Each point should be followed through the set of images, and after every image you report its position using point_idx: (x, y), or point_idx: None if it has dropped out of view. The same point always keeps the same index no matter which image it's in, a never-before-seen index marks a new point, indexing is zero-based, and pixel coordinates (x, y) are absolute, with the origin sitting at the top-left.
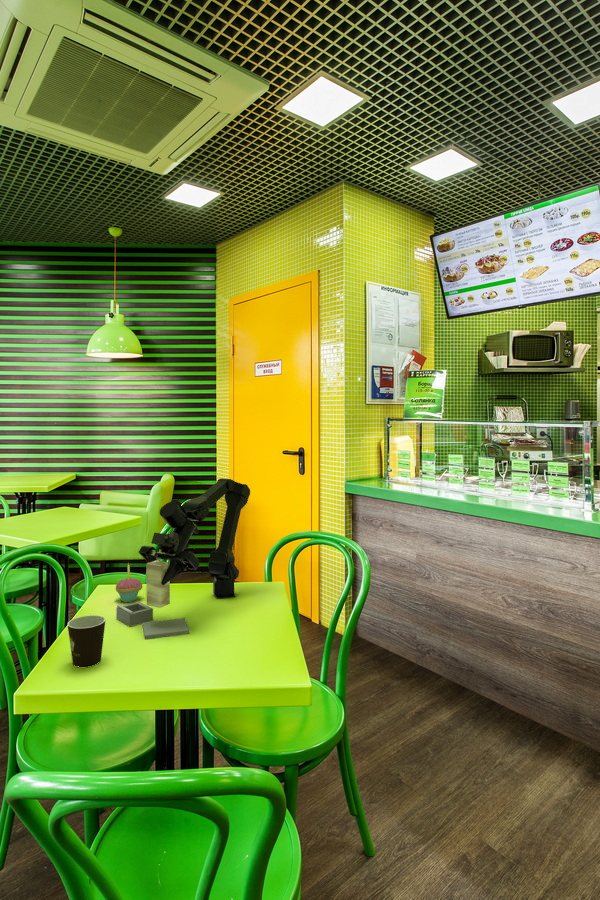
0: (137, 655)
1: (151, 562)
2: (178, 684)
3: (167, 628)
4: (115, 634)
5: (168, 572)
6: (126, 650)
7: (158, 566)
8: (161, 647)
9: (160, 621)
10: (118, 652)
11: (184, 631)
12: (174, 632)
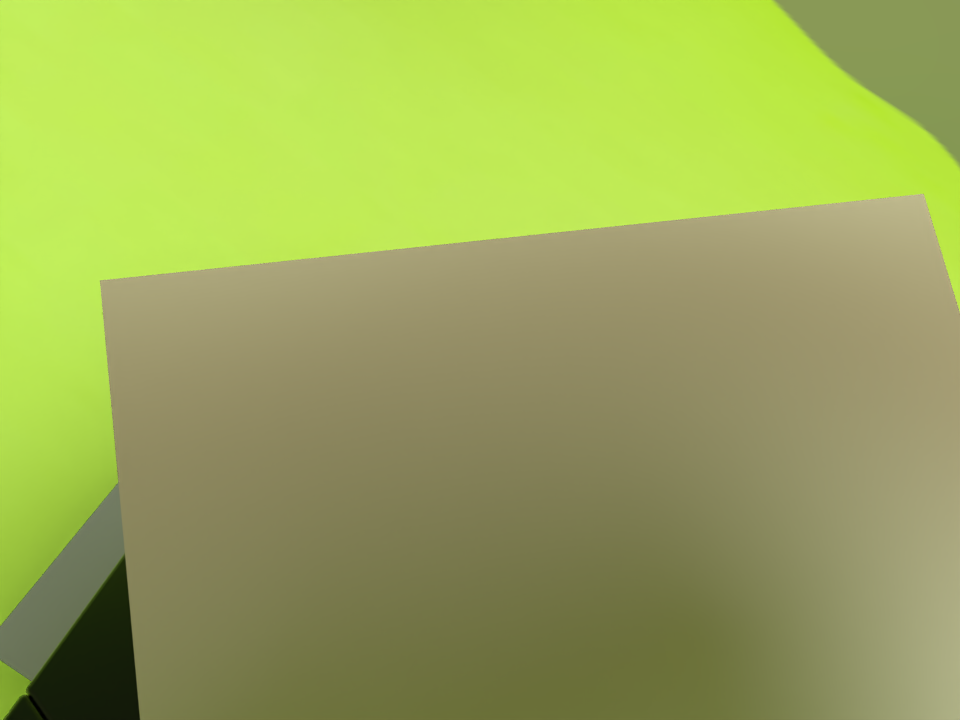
0: (72, 55)
1: (938, 447)
2: None
3: None
4: (569, 229)
5: (49, 681)
6: (230, 75)
7: (223, 277)
8: (10, 259)
9: None
10: (253, 23)
11: (23, 599)
12: (96, 510)
